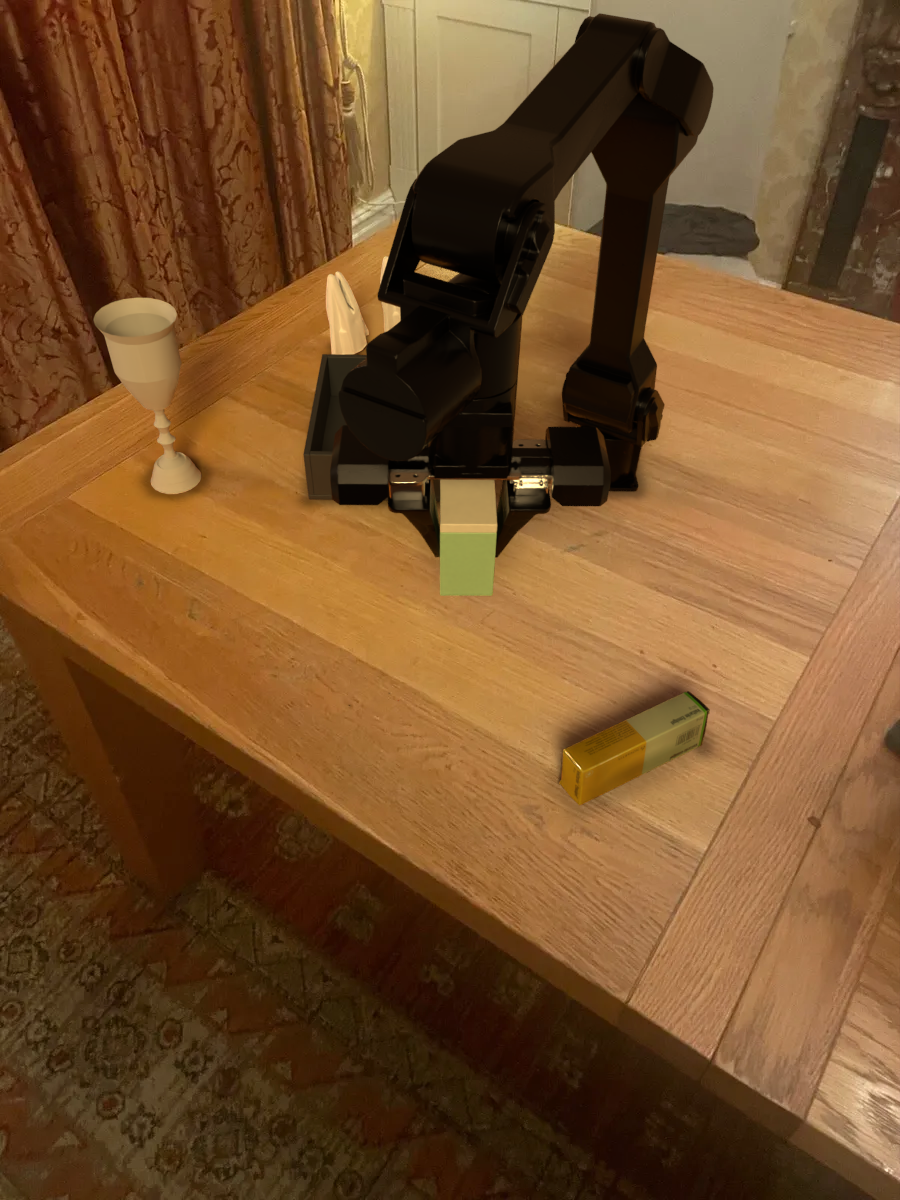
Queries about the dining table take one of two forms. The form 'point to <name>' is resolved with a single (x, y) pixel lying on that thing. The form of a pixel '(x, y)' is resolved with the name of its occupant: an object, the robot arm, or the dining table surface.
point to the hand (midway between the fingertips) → (466, 553)
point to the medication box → (633, 747)
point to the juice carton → (467, 537)
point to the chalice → (150, 375)
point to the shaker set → (351, 315)
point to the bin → (329, 424)
